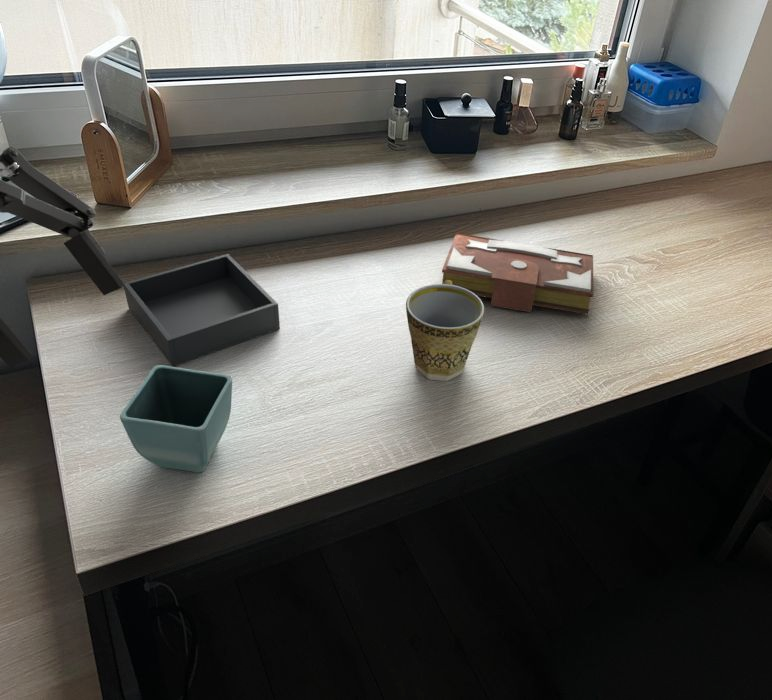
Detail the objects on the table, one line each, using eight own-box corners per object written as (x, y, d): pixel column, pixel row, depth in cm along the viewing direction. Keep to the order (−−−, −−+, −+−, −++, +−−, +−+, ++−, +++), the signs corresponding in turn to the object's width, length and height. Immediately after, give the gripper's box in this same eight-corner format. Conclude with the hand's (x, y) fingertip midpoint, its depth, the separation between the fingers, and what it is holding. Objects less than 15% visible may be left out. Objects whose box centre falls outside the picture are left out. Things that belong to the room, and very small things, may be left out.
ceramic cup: (474, 393, 94) (483, 332, 88) (398, 385, 94) (401, 324, 88) (478, 334, 105) (485, 275, 98) (409, 326, 104) (412, 268, 98)
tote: (172, 367, 93) (167, 340, 90) (128, 308, 101) (122, 283, 99) (280, 329, 101) (278, 303, 98) (231, 278, 110) (228, 253, 107)
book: (588, 276, 122) (594, 249, 119) (588, 321, 109) (594, 292, 106) (454, 254, 123) (457, 227, 120) (438, 296, 110) (441, 267, 107)
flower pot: (241, 432, 85) (233, 374, 79) (213, 489, 78) (203, 430, 72) (167, 422, 85) (155, 363, 79) (133, 478, 78) (117, 418, 73)
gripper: (-213, 156, 51) (-1, 389, 60) (37, 72, 71) (168, 255, 80) (-260, 193, 54) (-52, 408, 63) (-8, 102, 74) (123, 275, 83)
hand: (71, 323), depth 72 cm, fingers open, 13 cm apart
